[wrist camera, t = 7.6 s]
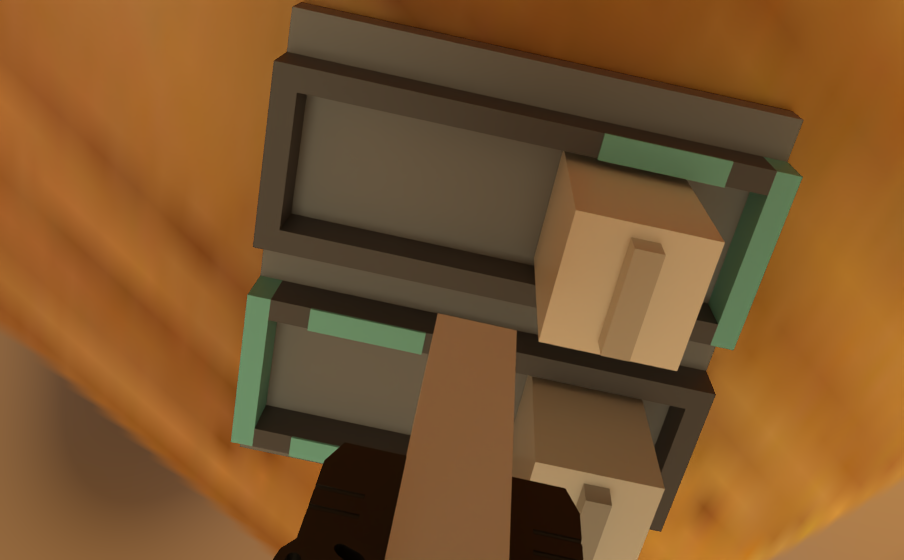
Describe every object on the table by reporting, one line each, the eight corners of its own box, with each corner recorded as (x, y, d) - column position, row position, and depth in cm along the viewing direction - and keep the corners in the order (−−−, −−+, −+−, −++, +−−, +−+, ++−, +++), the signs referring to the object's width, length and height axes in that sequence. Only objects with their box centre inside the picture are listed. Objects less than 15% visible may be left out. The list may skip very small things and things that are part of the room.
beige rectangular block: (563, 147, 27) (578, 221, 21) (683, 174, 27) (732, 254, 21) (534, 258, 29) (539, 355, 23) (646, 282, 29) (682, 386, 23)
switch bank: (301, 2, 27) (278, 13, 25) (792, 111, 28) (821, 133, 25) (248, 429, 34) (226, 473, 32) (639, 511, 35) (650, 561, 32)
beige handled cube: (531, 361, 31) (536, 478, 25) (638, 384, 31) (669, 506, 25) (506, 449, 32) (504, 579, 26) (607, 471, 32) (629, 605, 26)
